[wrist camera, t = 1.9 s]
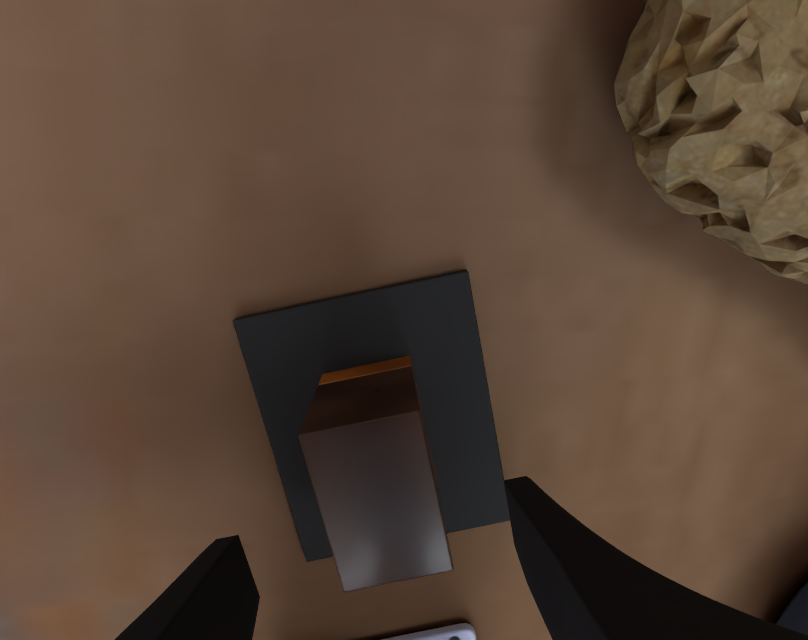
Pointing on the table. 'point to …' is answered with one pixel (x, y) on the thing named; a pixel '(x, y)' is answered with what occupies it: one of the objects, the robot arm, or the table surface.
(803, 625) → the bowl
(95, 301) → the table surface
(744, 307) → the table surface
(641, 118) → the sponge
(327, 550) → the mat
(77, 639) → the table surface
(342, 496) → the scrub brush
